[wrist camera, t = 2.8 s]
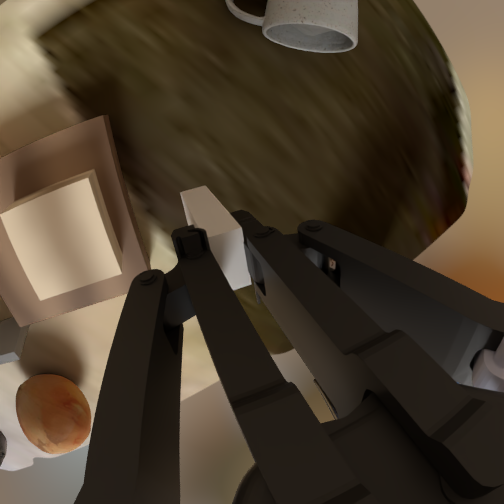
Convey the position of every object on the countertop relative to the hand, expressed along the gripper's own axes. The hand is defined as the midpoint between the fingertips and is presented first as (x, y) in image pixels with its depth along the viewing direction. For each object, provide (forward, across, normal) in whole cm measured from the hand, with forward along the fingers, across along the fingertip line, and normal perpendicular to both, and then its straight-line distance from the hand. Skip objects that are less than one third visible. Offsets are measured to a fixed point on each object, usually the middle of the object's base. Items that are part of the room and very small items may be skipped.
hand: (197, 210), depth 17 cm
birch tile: (+5, -10, 0) cm, 11 cm away
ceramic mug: (+10, +12, +14) cm, 21 cm away
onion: (+9, -23, -19) cm, 31 cm away
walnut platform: (+9, -12, 0) cm, 15 cm away
